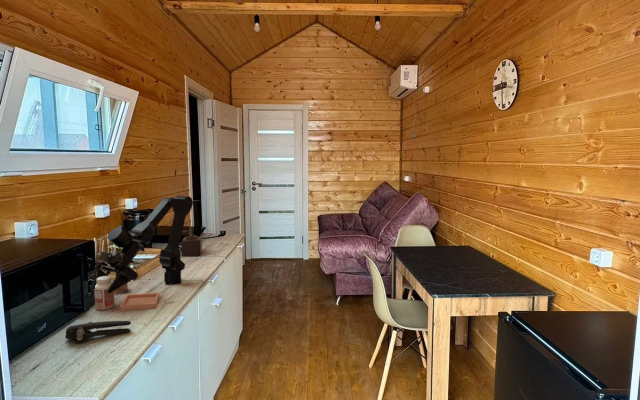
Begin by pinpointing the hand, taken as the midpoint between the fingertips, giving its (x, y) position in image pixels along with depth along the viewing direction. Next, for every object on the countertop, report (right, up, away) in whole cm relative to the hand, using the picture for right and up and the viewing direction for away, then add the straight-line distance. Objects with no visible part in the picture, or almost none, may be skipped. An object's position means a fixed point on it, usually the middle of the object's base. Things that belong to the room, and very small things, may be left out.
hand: (100, 290), depth 139 cm
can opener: (+12, -10, -21) cm, 26 cm away
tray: (+12, -6, +6) cm, 15 cm away
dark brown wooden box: (+3, +1, +82) cm, 82 cm away
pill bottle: (0, -7, +2) cm, 7 cm away
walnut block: (-3, -5, +19) cm, 19 cm away
